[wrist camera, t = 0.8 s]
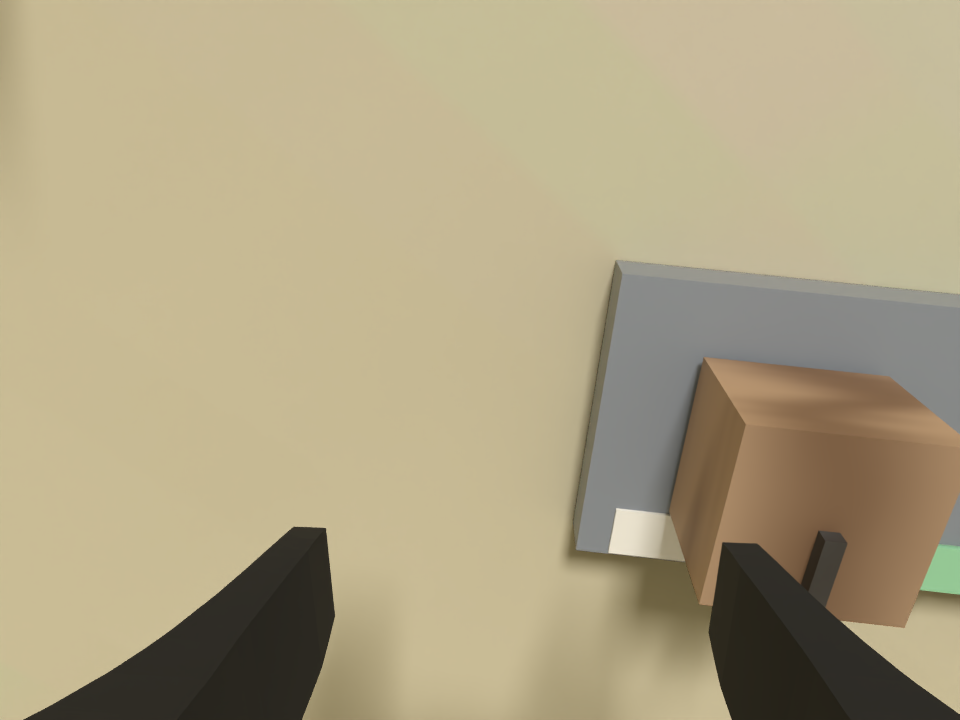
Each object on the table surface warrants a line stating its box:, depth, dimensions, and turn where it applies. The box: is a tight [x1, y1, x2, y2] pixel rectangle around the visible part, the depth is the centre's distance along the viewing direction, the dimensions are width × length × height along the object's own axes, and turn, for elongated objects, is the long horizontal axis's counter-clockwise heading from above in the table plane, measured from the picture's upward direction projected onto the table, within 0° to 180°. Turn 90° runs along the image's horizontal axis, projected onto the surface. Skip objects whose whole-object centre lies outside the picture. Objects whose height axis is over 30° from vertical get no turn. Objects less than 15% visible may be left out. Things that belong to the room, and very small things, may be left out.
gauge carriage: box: [669, 357, 960, 628], centre depth 18 cm, size 5×7×4 cm
